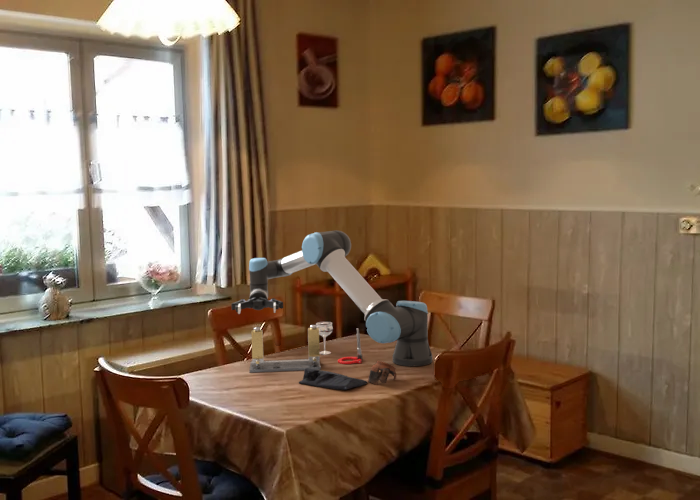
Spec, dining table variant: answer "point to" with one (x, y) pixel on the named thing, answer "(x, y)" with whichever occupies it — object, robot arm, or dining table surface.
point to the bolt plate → (297, 363)
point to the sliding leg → (257, 346)
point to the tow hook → (356, 359)
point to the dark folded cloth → (330, 380)
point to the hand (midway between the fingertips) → (256, 309)
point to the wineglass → (324, 332)
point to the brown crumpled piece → (381, 372)
